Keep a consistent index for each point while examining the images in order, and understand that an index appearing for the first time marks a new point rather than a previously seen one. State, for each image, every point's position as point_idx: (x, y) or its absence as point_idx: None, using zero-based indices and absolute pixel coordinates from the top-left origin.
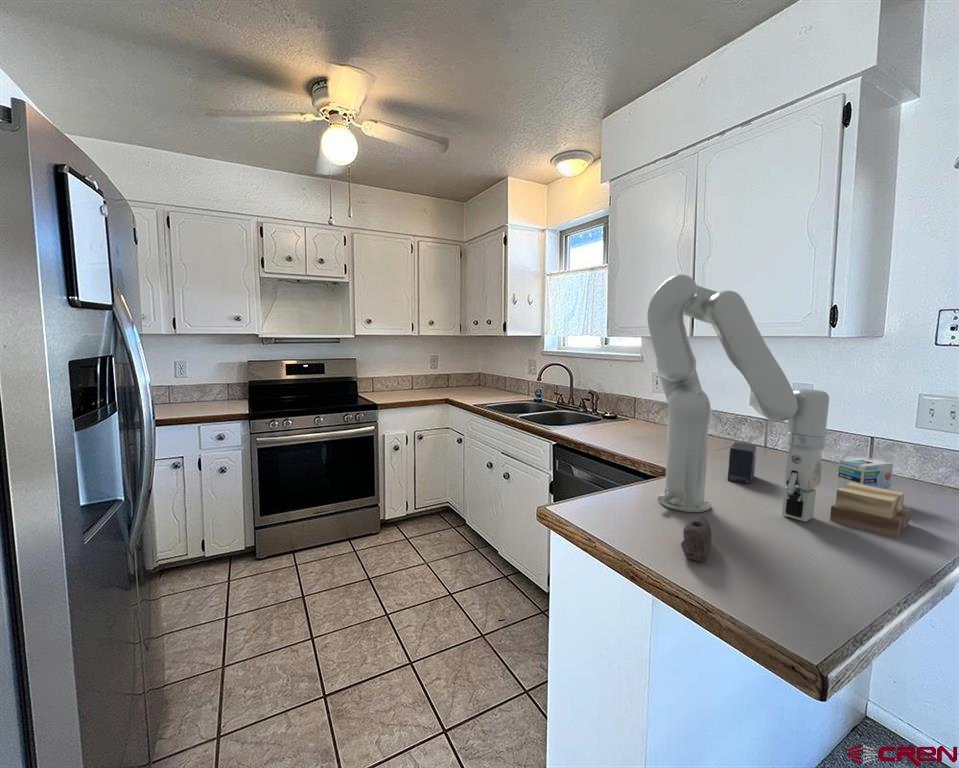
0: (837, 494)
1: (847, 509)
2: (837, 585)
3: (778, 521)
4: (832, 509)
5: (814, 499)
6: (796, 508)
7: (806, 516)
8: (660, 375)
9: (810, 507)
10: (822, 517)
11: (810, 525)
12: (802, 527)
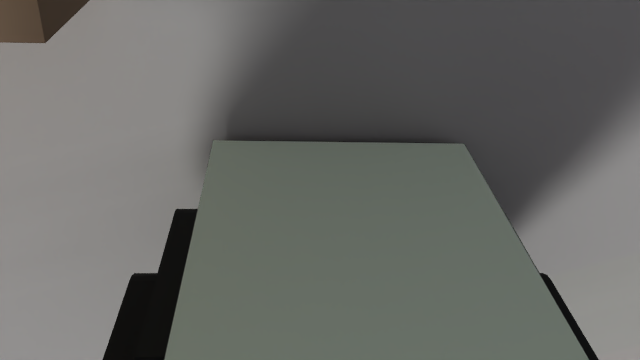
0: None
1: None
2: None
3: (591, 296)
4: (56, 4)
5: (207, 290)
6: (566, 314)
7: (480, 177)
8: None
9: (375, 228)
10: (87, 69)
11: (499, 86)
12: (624, 123)
